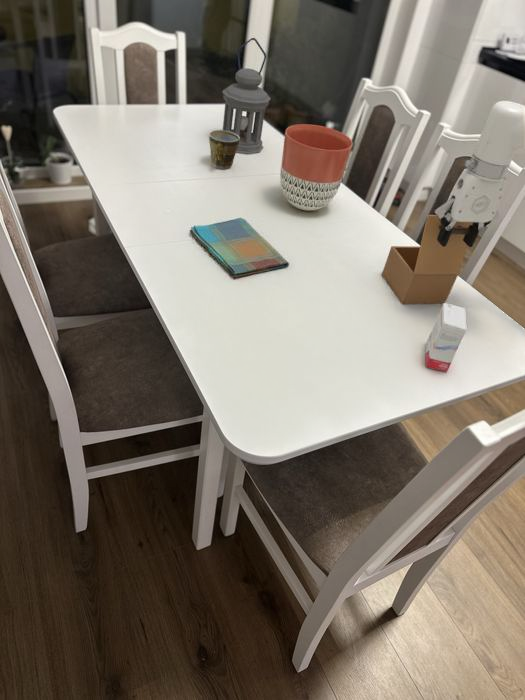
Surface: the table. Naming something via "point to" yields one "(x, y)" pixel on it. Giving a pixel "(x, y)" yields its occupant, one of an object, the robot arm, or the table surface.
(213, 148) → the ceramic cup
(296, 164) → the planter
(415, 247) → the carton
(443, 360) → the ink box
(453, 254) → the flap
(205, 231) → the dish towel
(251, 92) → the lantern
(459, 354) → the table surface
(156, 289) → the table surface
